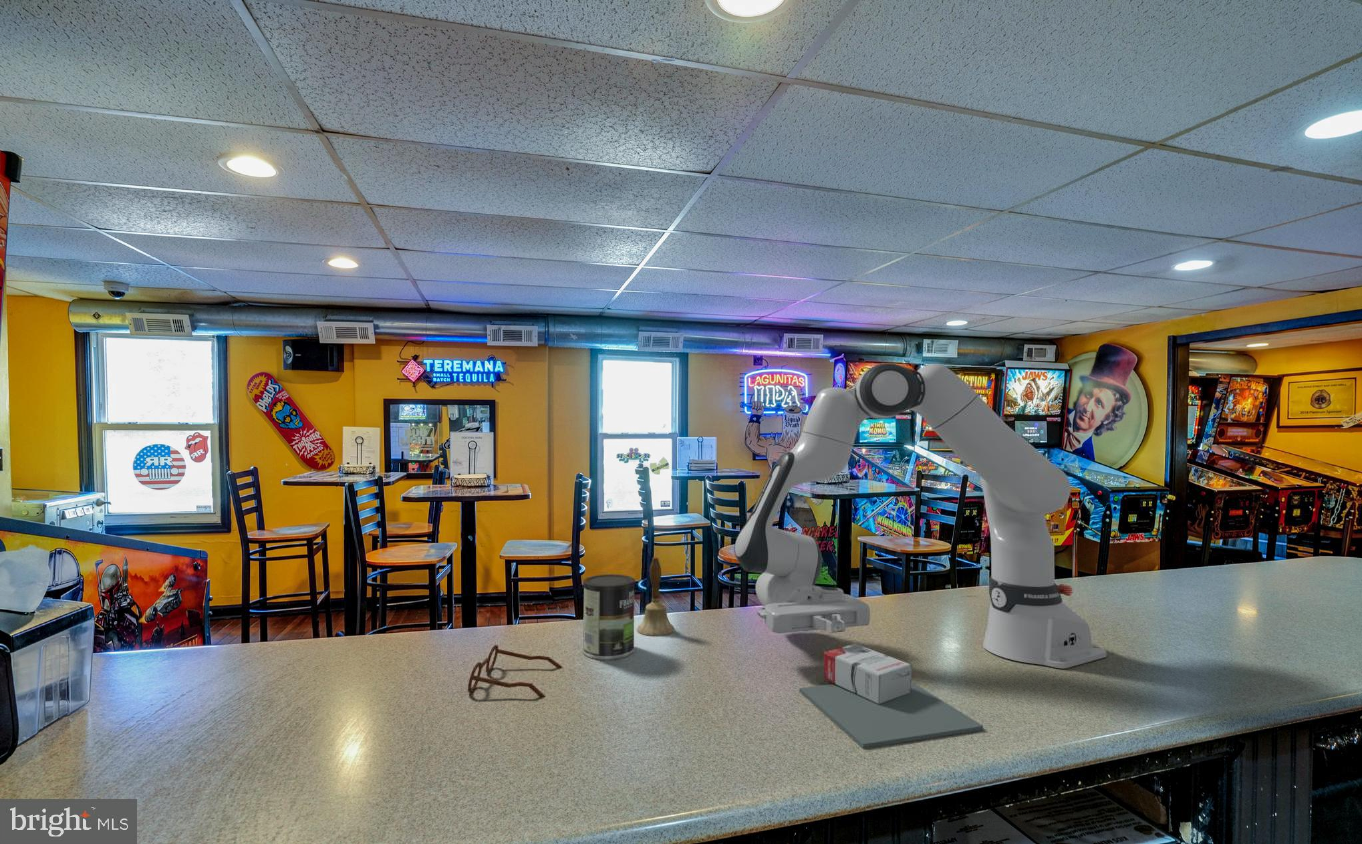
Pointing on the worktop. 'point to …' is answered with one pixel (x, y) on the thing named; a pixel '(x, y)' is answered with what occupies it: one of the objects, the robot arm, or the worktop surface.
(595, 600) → the coffee can
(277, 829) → the worktop surface
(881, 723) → the rubber mat
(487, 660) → the glasses
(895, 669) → the ink box
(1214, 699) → the worktop surface
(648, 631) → the hand bell
